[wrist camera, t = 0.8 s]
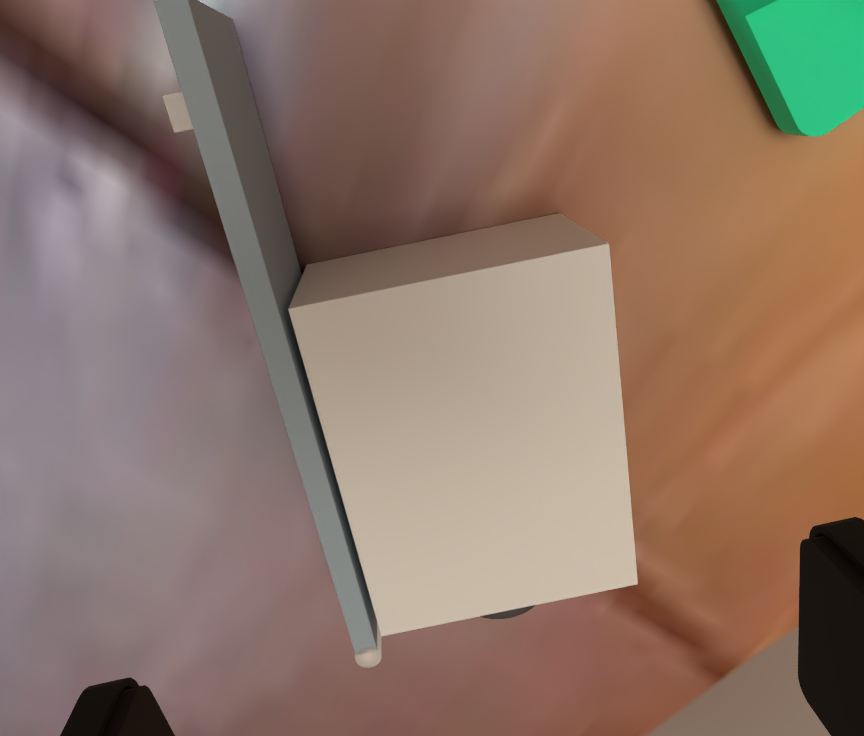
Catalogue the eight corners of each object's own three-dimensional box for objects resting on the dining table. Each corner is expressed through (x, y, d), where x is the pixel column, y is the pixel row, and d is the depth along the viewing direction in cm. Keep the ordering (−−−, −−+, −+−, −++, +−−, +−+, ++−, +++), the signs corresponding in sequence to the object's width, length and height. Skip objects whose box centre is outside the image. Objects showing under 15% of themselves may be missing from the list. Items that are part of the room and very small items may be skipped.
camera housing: (306, 264, 31) (288, 308, 24) (560, 212, 31) (609, 243, 24) (386, 564, 38) (388, 661, 31) (594, 522, 38) (639, 610, 31)
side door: (183, 29, 27) (121, 7, 20) (235, 18, 27) (189, -7, 20) (345, 573, 37) (339, 673, 31) (382, 565, 37) (383, 664, 31)
